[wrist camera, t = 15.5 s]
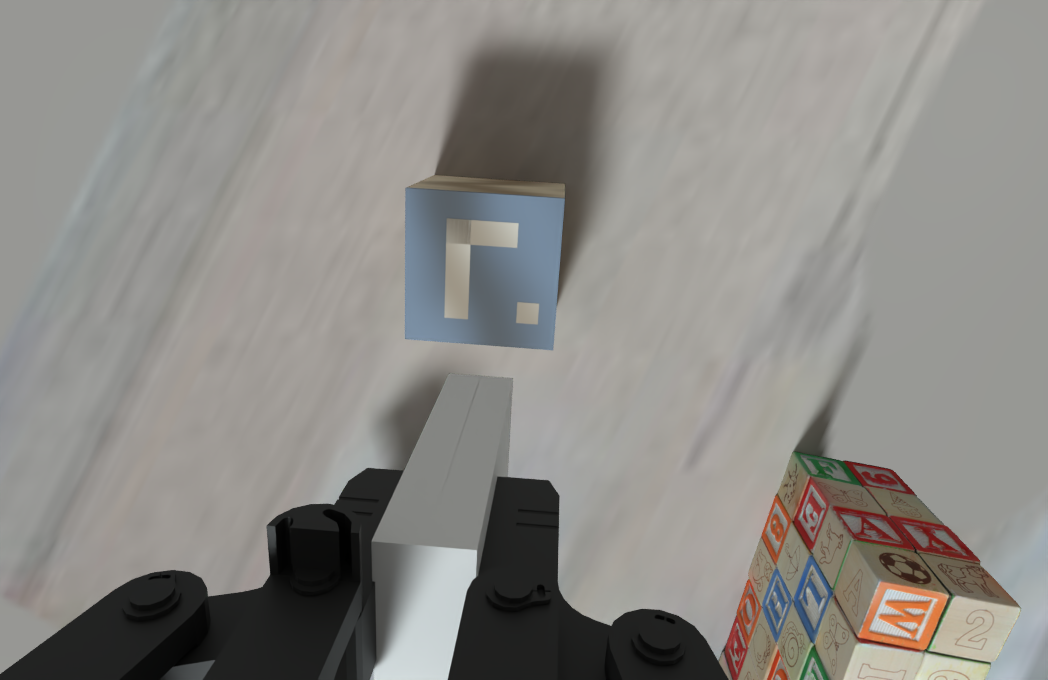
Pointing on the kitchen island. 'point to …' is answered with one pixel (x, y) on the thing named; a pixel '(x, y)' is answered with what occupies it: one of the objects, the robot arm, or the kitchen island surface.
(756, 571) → the stack of blocks
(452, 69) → the kitchen island surface
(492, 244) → the beech cube
